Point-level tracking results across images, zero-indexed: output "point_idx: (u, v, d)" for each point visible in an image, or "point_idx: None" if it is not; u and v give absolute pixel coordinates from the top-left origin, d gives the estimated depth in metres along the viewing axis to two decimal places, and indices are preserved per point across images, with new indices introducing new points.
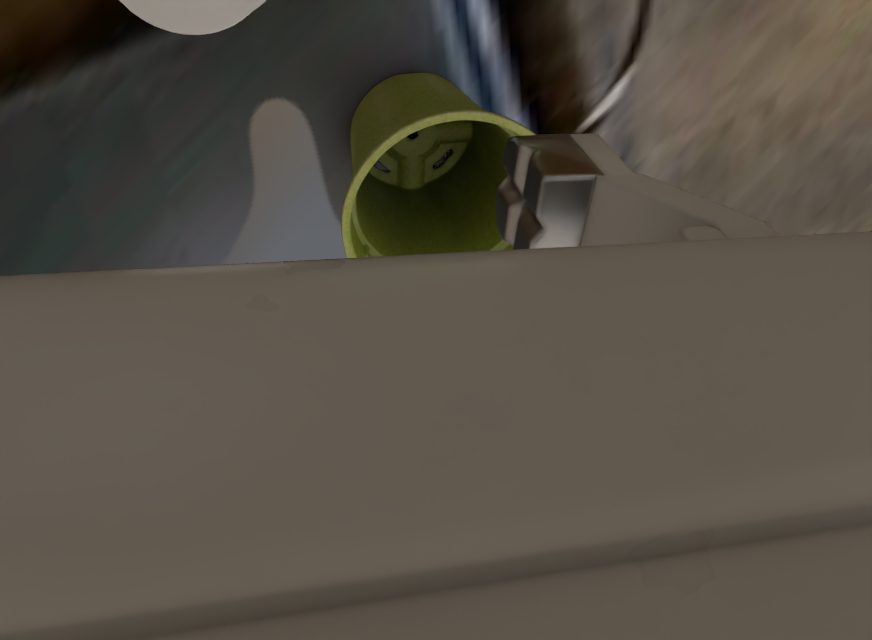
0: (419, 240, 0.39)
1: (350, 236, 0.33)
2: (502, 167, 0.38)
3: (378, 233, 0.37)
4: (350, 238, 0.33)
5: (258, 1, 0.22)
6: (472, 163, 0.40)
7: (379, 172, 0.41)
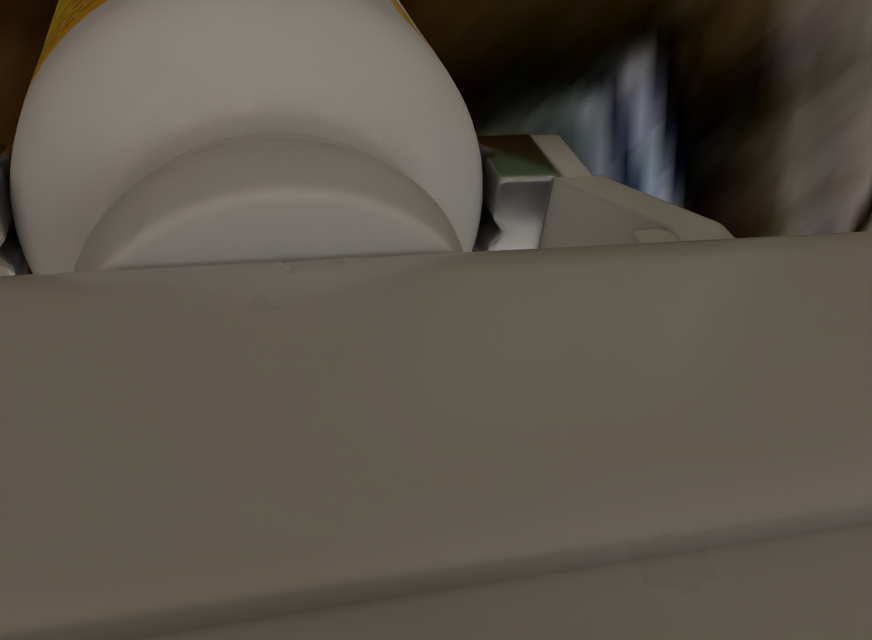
0: None
1: None
2: None
3: None
4: None
5: None
6: None
7: None
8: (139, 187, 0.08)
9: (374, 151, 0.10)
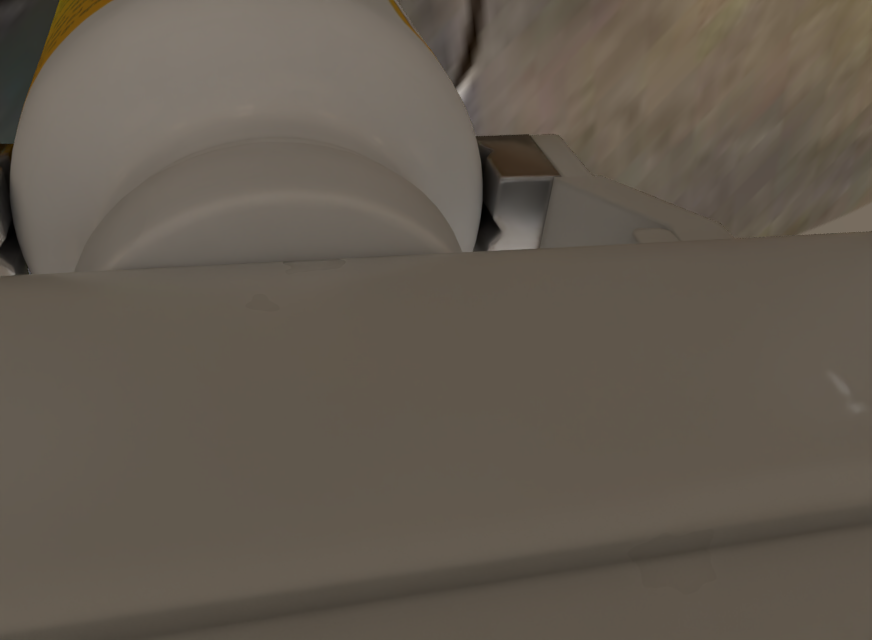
0: None
1: None
2: None
3: None
4: None
5: None
6: None
7: None
8: (138, 191, 0.08)
9: (373, 155, 0.10)
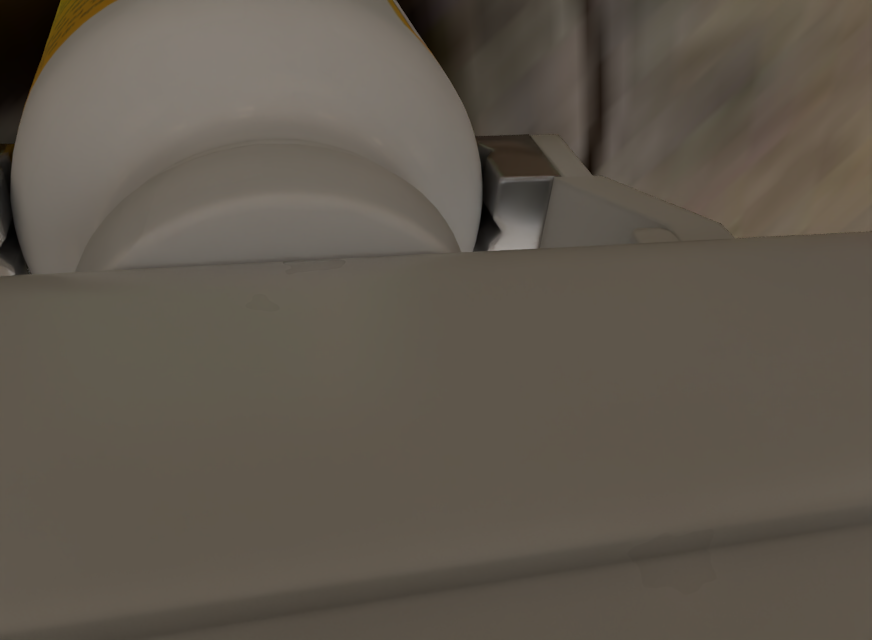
0: None
1: None
2: None
3: None
4: None
5: None
6: None
7: None
8: (139, 193, 0.08)
9: (373, 157, 0.10)
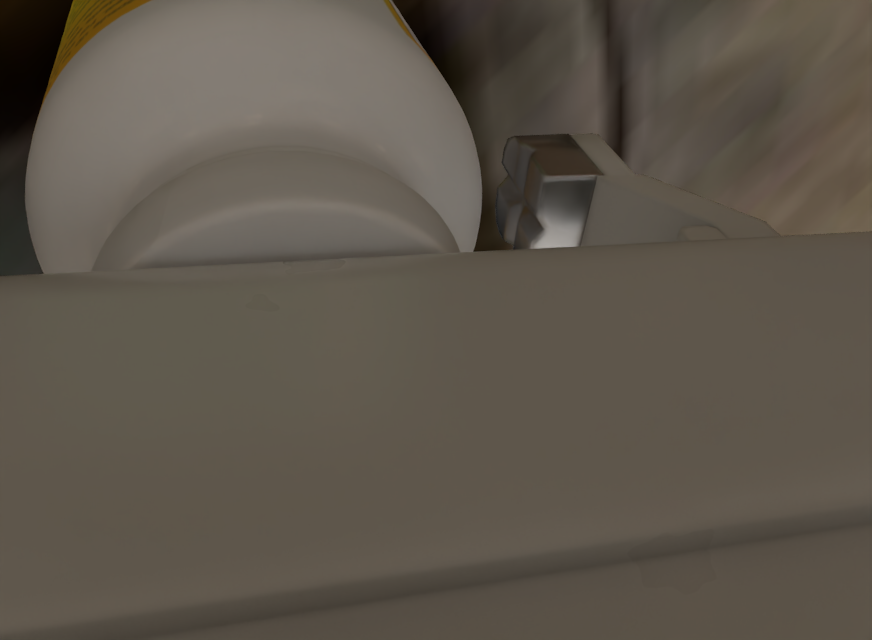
0: None
1: None
2: None
3: None
4: None
5: None
6: None
7: None
8: (153, 198, 0.09)
9: (377, 163, 0.10)
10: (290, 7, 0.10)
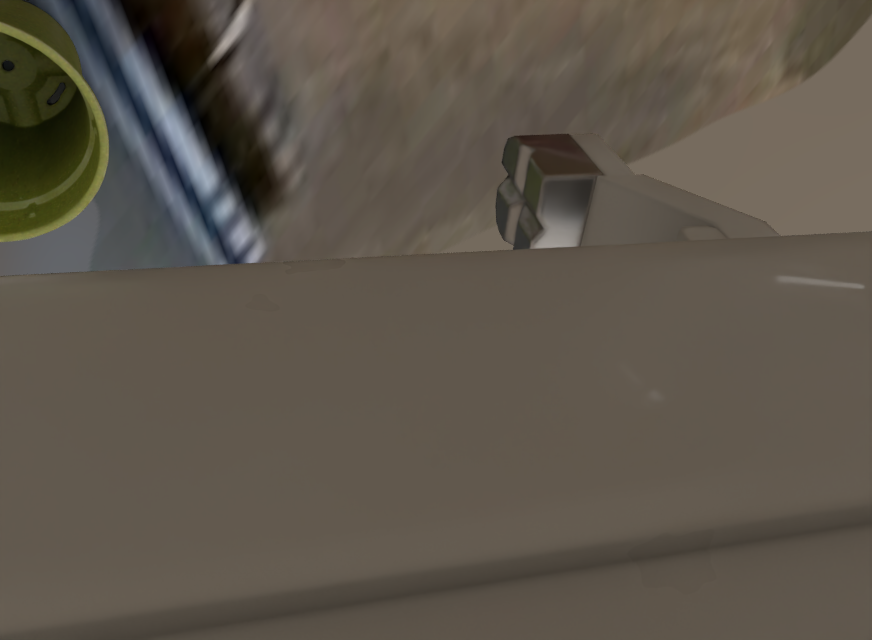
0: (7, 174, 0.36)
1: None
2: None
3: None
4: None
5: None
6: (80, 96, 0.38)
7: None
8: None
9: None
10: None
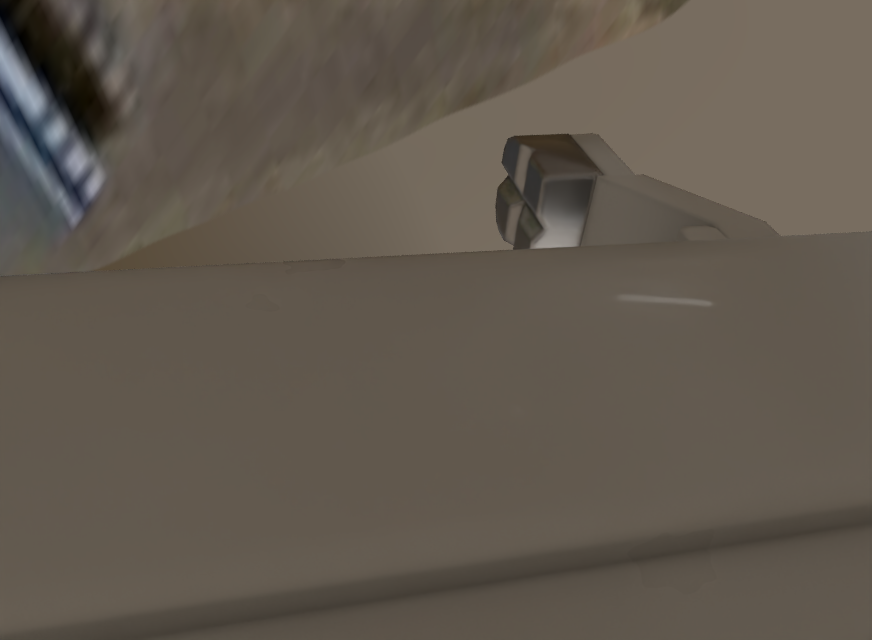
0: None
1: None
2: None
3: None
4: None
5: None
6: None
7: None
8: None
9: None
10: None
